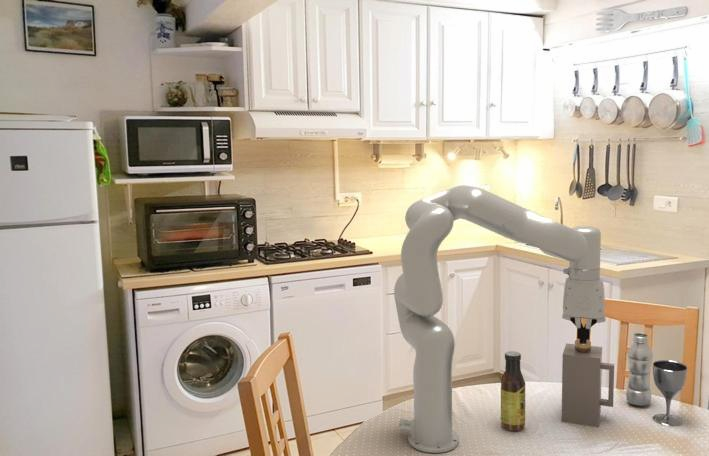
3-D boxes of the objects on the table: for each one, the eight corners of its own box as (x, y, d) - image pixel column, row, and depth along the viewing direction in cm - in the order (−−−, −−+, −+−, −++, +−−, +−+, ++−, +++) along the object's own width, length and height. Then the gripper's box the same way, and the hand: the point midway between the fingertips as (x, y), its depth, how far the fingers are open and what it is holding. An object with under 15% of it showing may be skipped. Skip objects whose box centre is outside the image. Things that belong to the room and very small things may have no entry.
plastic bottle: (621, 404, 174) (623, 335, 171) (632, 397, 178) (634, 330, 175) (644, 411, 169) (647, 340, 166) (655, 403, 173) (658, 334, 171)
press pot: (561, 421, 164) (562, 354, 162) (565, 407, 173) (566, 343, 170) (612, 429, 159) (614, 359, 157) (613, 414, 168) (615, 348, 165)
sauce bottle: (526, 433, 159) (526, 358, 156) (500, 431, 160) (501, 357, 157) (524, 421, 165) (524, 350, 162) (500, 420, 166) (500, 349, 163)
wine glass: (683, 416, 165) (686, 362, 163) (685, 428, 158) (688, 372, 156) (650, 411, 169) (652, 358, 167) (651, 423, 162) (653, 368, 159)
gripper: (552, 275, 161) (552, 343, 163) (615, 278, 155) (613, 349, 157) (556, 269, 168) (555, 334, 170) (616, 272, 161) (614, 340, 164)
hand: (583, 341), depth 164 cm, fingers closed
